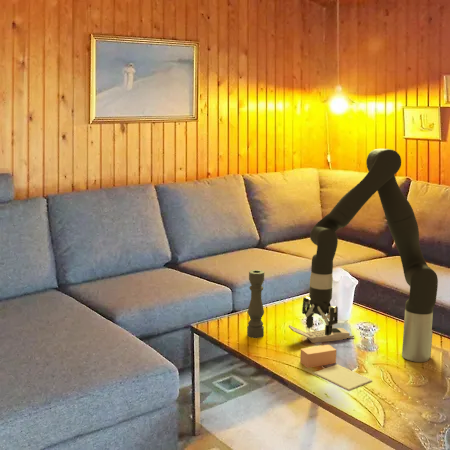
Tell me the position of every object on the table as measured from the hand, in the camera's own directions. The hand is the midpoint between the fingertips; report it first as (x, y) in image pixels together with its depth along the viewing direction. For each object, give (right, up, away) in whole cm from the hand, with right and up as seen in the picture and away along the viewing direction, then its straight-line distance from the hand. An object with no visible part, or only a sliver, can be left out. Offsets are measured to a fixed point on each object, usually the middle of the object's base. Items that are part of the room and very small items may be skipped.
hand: (318, 331), depth 212 cm
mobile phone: (+4, -7, +23) cm, 25 cm away
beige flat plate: (+6, -13, -9) cm, 17 cm away
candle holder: (-20, -6, +26) cm, 34 cm away
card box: (0, -11, +2) cm, 12 cm away
